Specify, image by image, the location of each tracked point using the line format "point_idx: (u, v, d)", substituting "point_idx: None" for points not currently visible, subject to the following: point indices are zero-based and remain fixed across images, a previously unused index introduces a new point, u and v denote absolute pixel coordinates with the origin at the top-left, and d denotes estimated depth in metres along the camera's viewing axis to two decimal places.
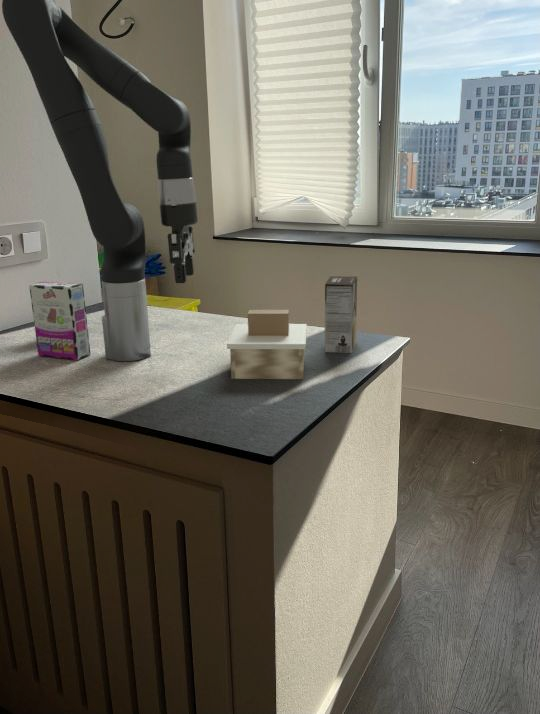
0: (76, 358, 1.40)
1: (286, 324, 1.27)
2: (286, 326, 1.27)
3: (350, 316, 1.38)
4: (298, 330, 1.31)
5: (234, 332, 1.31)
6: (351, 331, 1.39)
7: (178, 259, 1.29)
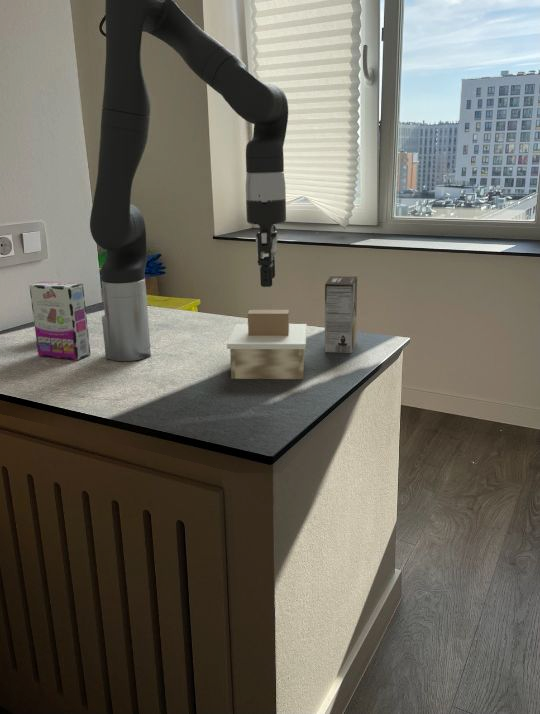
0: (76, 358, 1.40)
1: (286, 324, 1.27)
2: (286, 326, 1.27)
3: (350, 316, 1.38)
4: (298, 330, 1.31)
5: (234, 332, 1.31)
6: (351, 331, 1.39)
7: (267, 260, 1.18)
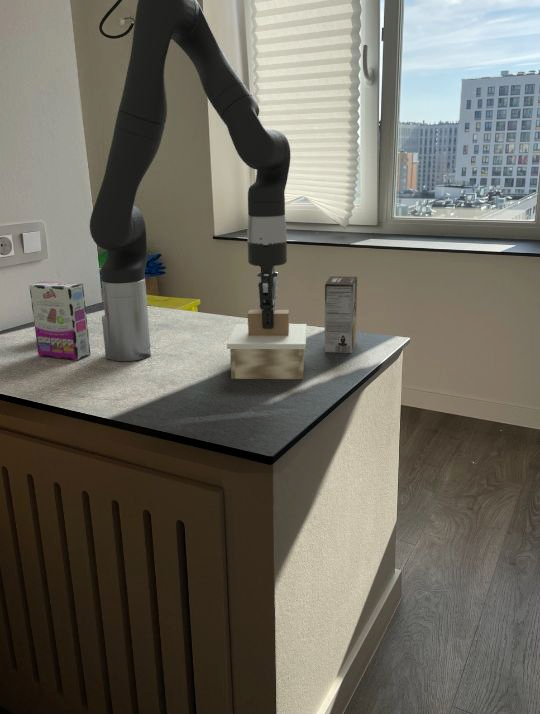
0: (76, 358, 1.40)
1: (286, 324, 1.27)
2: (286, 326, 1.27)
3: (350, 316, 1.38)
4: (298, 330, 1.31)
5: (234, 332, 1.31)
6: (351, 331, 1.39)
7: (269, 306, 1.23)
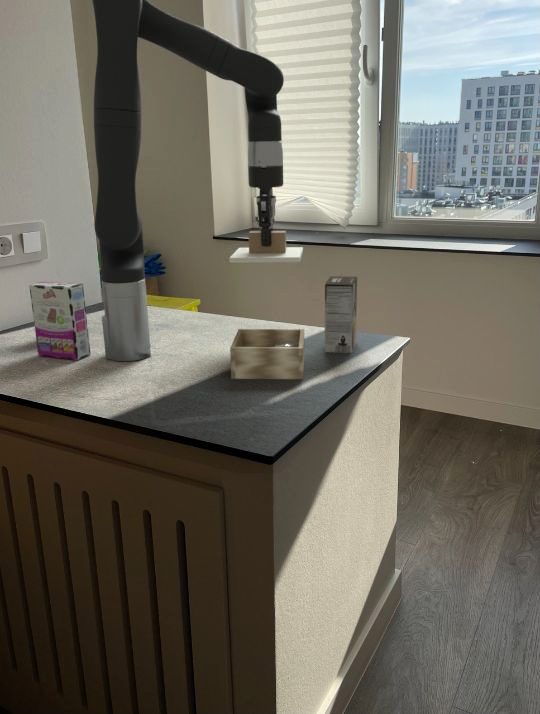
0: (76, 358, 1.40)
1: (283, 242, 1.41)
2: (283, 244, 1.41)
3: (350, 316, 1.38)
4: (295, 250, 1.45)
5: (236, 252, 1.44)
6: (351, 331, 1.39)
7: (267, 224, 1.37)
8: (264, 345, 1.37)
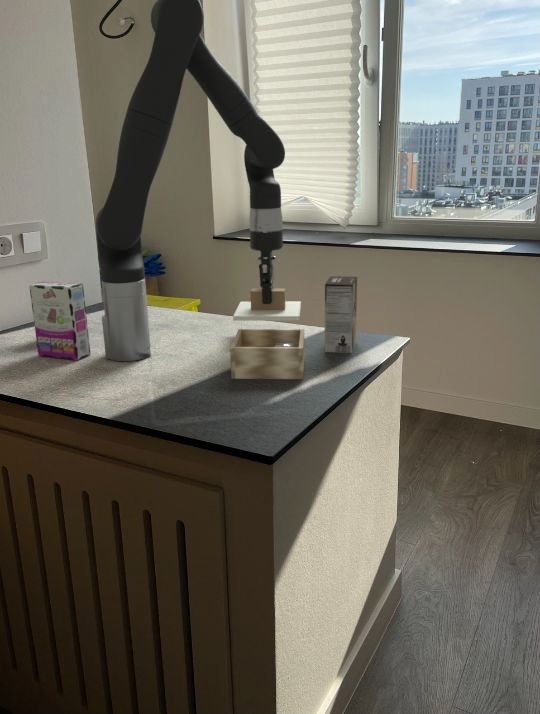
0: (76, 358, 1.40)
1: (283, 300, 1.50)
2: (283, 302, 1.50)
3: (350, 316, 1.38)
4: (293, 305, 1.54)
5: (239, 307, 1.54)
6: (351, 331, 1.39)
7: (268, 285, 1.46)
8: (264, 345, 1.37)
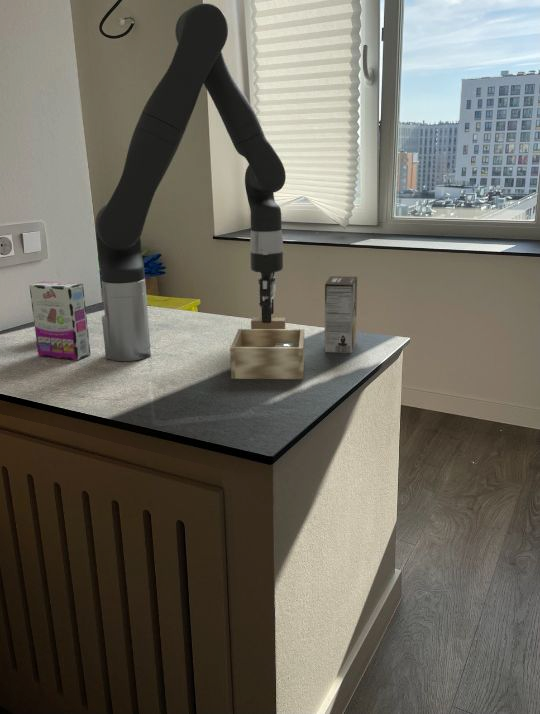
0: (76, 358, 1.40)
1: None
2: None
3: (350, 316, 1.38)
4: None
5: None
6: (351, 331, 1.39)
7: (267, 303, 1.45)
8: (264, 345, 1.37)
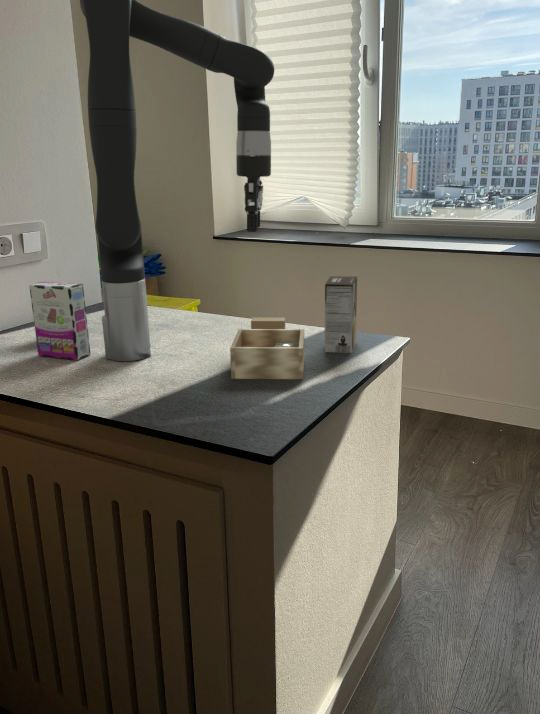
0: (76, 358, 1.40)
1: None
2: None
3: (350, 316, 1.38)
4: None
5: None
6: (351, 331, 1.39)
7: (253, 207, 1.36)
8: (264, 345, 1.37)
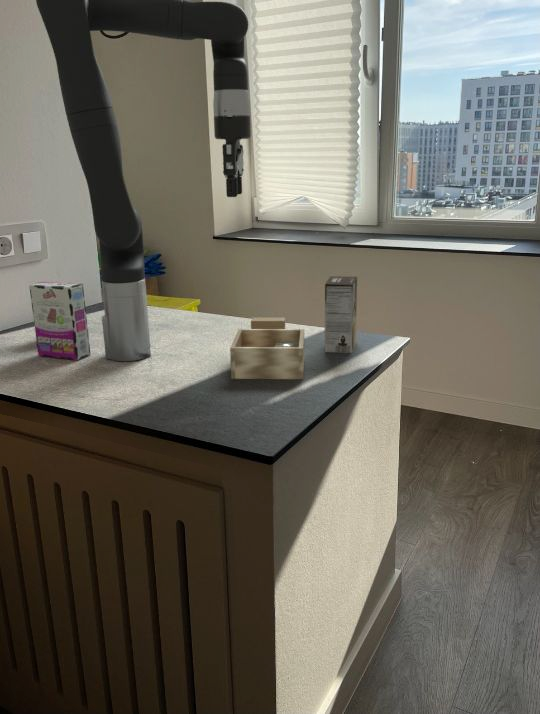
0: (76, 358, 1.40)
1: None
2: None
3: (350, 316, 1.38)
4: None
5: None
6: (351, 331, 1.39)
7: (232, 170, 1.29)
8: (264, 345, 1.37)
